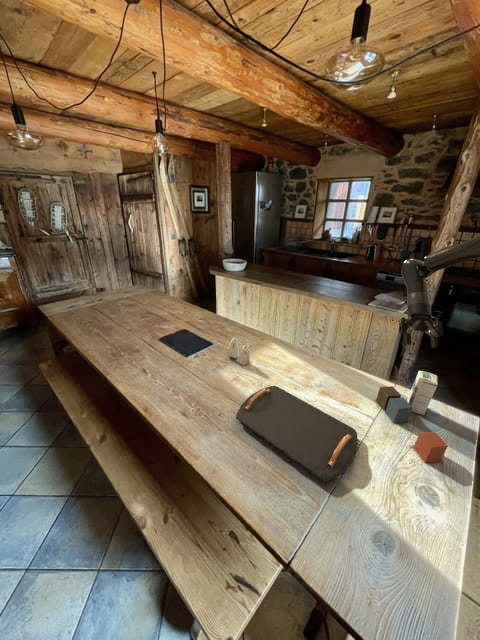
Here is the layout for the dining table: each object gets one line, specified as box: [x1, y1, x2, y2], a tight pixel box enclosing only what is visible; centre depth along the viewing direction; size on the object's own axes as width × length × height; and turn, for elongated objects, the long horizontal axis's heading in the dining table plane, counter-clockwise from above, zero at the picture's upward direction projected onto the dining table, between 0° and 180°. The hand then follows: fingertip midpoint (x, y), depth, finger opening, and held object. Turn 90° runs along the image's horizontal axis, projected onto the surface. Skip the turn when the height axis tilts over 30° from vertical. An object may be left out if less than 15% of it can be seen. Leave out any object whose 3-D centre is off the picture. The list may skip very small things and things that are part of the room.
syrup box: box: [406, 370, 439, 416], centre depth 95 cm, size 6×6×14 cm
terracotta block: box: [413, 431, 449, 463], centre depth 80 cm, size 5×5×6 cm
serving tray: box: [235, 385, 359, 483], centre depth 87 cm, size 39×23×6 cm, turn 48°
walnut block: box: [375, 385, 402, 411], centre depth 98 cm, size 5×5×6 cm
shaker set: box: [225, 337, 251, 365], centre depth 122 cm, size 12×4×11 cm, turn 52°
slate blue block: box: [384, 397, 412, 424], centre depth 93 cm, size 5×5×6 cm
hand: (421, 345), depth 98 cm, fingers open, 8 cm apart
